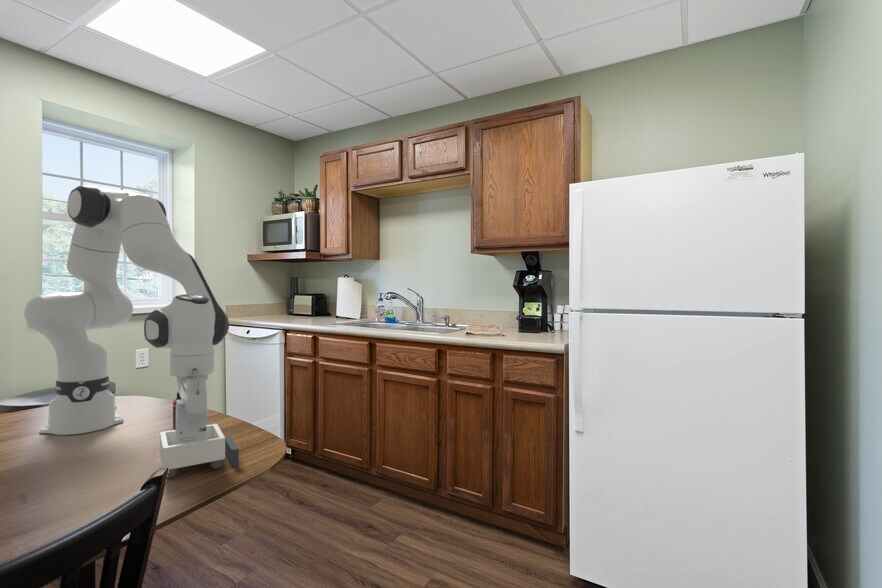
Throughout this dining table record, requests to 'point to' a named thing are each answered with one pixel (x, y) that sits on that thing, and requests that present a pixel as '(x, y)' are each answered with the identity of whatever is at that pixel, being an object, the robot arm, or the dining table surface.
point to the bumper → (231, 451)
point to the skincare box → (187, 426)
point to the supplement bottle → (175, 410)
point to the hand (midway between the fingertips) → (192, 425)
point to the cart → (192, 450)
